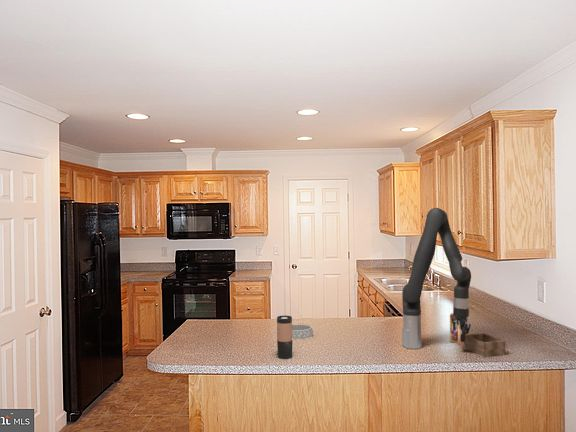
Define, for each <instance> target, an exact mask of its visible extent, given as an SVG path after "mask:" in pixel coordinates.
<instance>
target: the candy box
mask: <svg viewBox="0 0 576 432" xmlns="http://www.w3.org/2000/svg"><path fill="white" fill-rule="evenodd" d="M452 318H455V316H454V315H453V312H452V313H450V314H449V332H450V333H449V342H450V343H456V344H458V340H457V339H456V330H454V328H453V323H452ZM467 323H468V324H469V316H468V317H467ZM455 328H456V327H455ZM465 335H469V333H468V334H465Z"/></svg>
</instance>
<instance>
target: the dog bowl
mask: <svg viewBox="0 0 576 432" xmlns="http://www.w3.org/2000/svg"><path fill="white" fill-rule="evenodd" d="M313 333H314V330H313V327H312V326H311V325H309V324H306V323H305V324H304V323H303V324H302V323H300V324H299V323H296V324H294V323H293V324H292V338H293V339H304V340H306V339H305V338H310V337H312V336H313V337H314V334H313ZM313 337H312V338H313ZM310 339H311V338H310Z"/></svg>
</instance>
